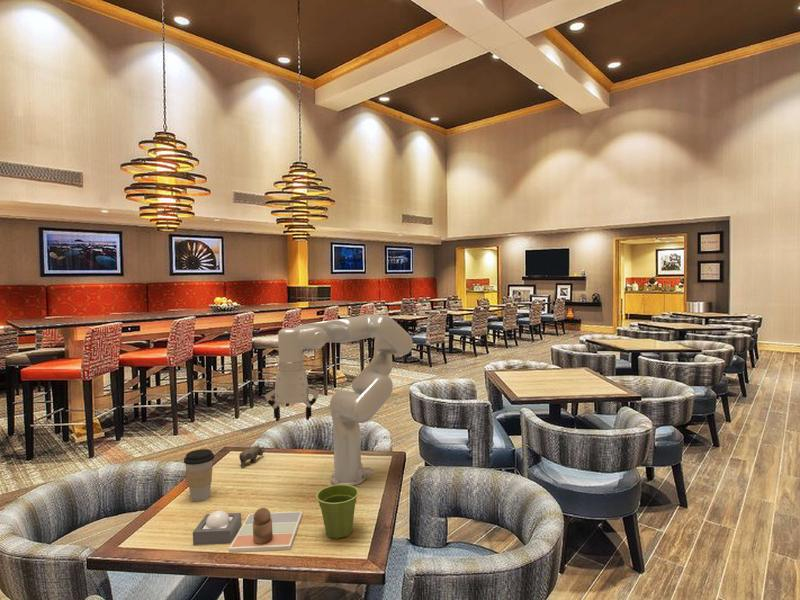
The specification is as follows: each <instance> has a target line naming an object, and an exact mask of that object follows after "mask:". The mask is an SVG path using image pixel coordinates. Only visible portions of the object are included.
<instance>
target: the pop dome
mask: <svg viewBox="0 0 800 600" xmlns="http://www.w3.org/2000/svg"><path fill="white" fill-rule="evenodd" d="M209 514H210V515H209V516H208V518H207V520H206V525H205V526H204V527H203V529H214V528H227V526H228V525H229V523H230V521H231V520H232V518H233V517H229V515H228V514H227V512H226V511H224V510H215V511H212V512H211V513H209Z"/></svg>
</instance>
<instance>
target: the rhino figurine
mask: <svg viewBox="0 0 800 600" xmlns="http://www.w3.org/2000/svg"><path fill="white" fill-rule="evenodd" d="M264 452H265V448H264V446H261V447H260V445H259V444H257V445H254V446H253V447H251V448H249V449H245V450H242V451H241V452H240V454H239V455H238V456H239V460H240V466H241V468H242V469H245V468H246V467H247V466H246V465H245V463H246V462H247V461H249V460H250V462H251V461H252V463H255V464H256V463H257V462H258V461H257V460H256V459H257V457H258V456H259V457H260V456H261V457H262V456H263V455H264Z"/></svg>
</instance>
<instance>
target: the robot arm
mask: <svg viewBox="0 0 800 600" xmlns="http://www.w3.org/2000/svg"><path fill="white" fill-rule="evenodd" d="M277 338H278V339H277V340H278V343H277V344H278V345H277V346H278V362H276V363H274V368H275V369H278V371H277V372H276V374H275V384H274V389H273V390H271V391H269V392H268V393H266V394H264V398H265V400H266V402H267V404H268V405H270V406H271V407H272V409H273V417H274V419H275V421H276V422H279V421H280V419H281V407H280V406H279V405H280V404H300V403H301V404H302V403H303V404H304V405H305V406H306V407H305V420H306V421H309V420H310V418H311V417H312V406H313V405H314V403H316V402H317V399H318V398H319V395H320V392H319V391H317V390H315V389H312V388H310V387H309V382H308V376H307V373H306V370H305V369H304V357H303V356H304V355H303V354H304V353H303V351H304V350H318V349H321V348H323V347H324V346H325V345H326V343H337V344H339V343H341V344H343V343H350V342H355V341H359V340H366V339H369V338H374V342H373V343H374V344H373V345H374V346H373V348H374V350H373V351H374V352H373V354H374V355H373V358H372V359H371V360H370V362H369V363H368V364H367V365H366V366H365V367H364V368H363V369H362V371H360V372H359V373H358V374H357V376H355V378H354V379H353V380H352V386H351V388H352V390H353V391H349V390H340V391H337V392H335V393H333V395H332V397H331V398H330V401H329V411H330V415H331V416H330V417H331V421H332V430H333V431H332V434H333V461H334V463H333V465H334V467H333V468H334V472H333V474H331V475H330V479H329V481H330V483H331V484H332V485H338V484H346V485H351V486H354V487H355V486H357V485H360V484H362V483H364V482H365V481H366V480H367V479H366V478H367V476H368V475H369V476H373V475H375V469H374V468H372V467H371V466H367V467H365V466H363V463H362V452H361V451H362V450H361V449H362V448H361V444H362V443H361V442H362V441H361V428H360V427H361V426H360V424H364V423H367V422H368V421H369V420H371V419H372V418H373V417H374V415H376V414H377V412H378V411H379V410H380V409H381V408H382V407H383V406H384V405H385V404H386V402H387V401H388V400H389V398H390V397H391V396H392V395H391V394H392V393H393V386H394V384H393V381H392V378H391V377H390V374H391V373H392V370H393V355H396V356H406V355H408V354H410V353H411V351H412V349H413V346H414V345H413V344H414V341H413V338H412V336H411V335H410V333H408V332H407V331H406V330H405V329H404V328H403V327H402V326H401V325H400V323H399V324H398V322H397V321H395V320H394V319H393V318H392V317H390V316H388V315H386V314H373V313H372V314H371V313H369V314H364V315H363V314H362V315H357V316H352V317H345V318H338V319H332V320H325V321H324V320H323V321H316V322H311V323H309V322H308V323H304V324H298V325H297V326H295V327H291V328H290V327H287V328H282V329H280V330H278V332H277ZM309 394H311V395H313V397H312V399H310V398H309ZM272 396H274V399H273V398H272Z"/></svg>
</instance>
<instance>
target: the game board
mask: <svg viewBox="0 0 800 600" xmlns="http://www.w3.org/2000/svg"><path fill="white" fill-rule="evenodd" d="M254 514H255V512H254V513H248V515H247V517H246V518H245V521H244V522H243V523H242V525H241V526H240V528H239V530H238V531H237V533H236V535H235V537H234V538H233V540H232V542H231V543H230V546H229V547H228V553H247V552H248V553H249V552H265V551H266V552H268V551H271V552H272V551H288V550H289V551H290V550H291V549H292V546H293V543H294V540H295V537H296V536H297V533H298V532H297V531H298V529H299V525H300V523H301V520H302V517H303V516H304V515H303V510H302V511H301V510H300V511H299V510H298V511H278V512H277V511H276V512H275V511H274V512H270V514H271V517H270V518H271V519H272V532H273V539H272V540H271V541H270V542H269V543H266V544H261V545H258V544H255V543H254V541H253V521H254Z"/></svg>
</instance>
